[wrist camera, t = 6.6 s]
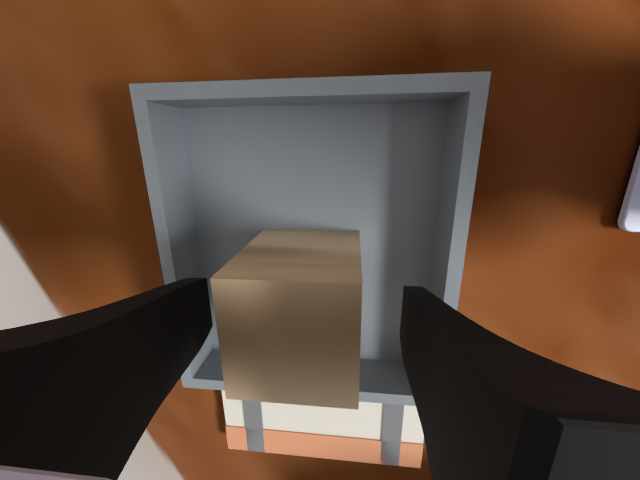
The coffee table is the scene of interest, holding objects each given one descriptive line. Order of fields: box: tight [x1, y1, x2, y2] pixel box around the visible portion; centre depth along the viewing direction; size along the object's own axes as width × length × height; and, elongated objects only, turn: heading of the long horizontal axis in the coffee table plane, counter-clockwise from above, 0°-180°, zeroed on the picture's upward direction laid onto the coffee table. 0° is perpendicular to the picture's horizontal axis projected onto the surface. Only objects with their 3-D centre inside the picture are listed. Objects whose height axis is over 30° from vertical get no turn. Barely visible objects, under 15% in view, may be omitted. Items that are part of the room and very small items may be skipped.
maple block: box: [210, 229, 362, 410], centre depth 11 cm, size 4×4×5 cm
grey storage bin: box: [129, 71, 491, 406], centre depth 13 cm, size 11×12×5 cm
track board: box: [221, 390, 424, 468], centre depth 17 cm, size 13×22×1 cm, turn 1°
